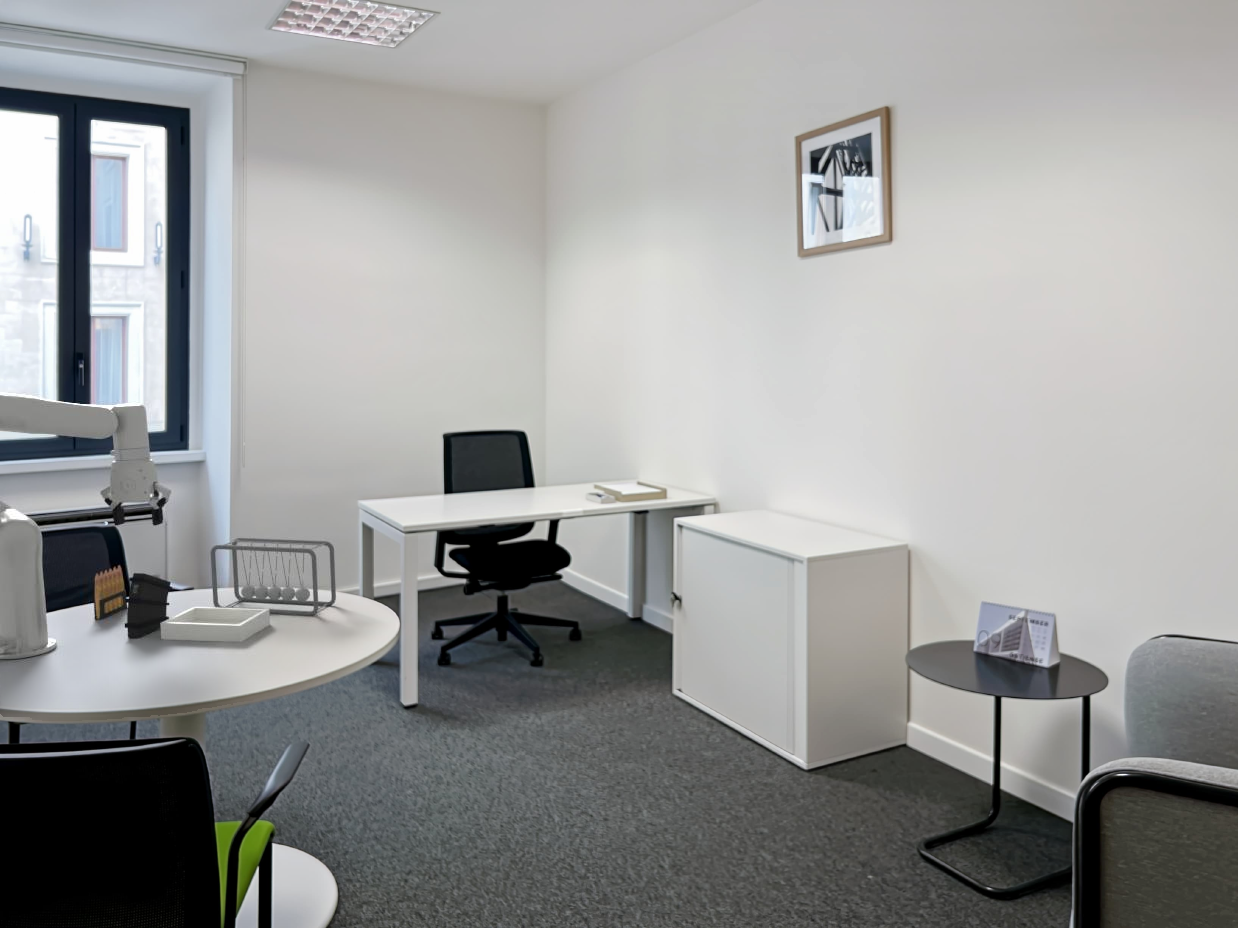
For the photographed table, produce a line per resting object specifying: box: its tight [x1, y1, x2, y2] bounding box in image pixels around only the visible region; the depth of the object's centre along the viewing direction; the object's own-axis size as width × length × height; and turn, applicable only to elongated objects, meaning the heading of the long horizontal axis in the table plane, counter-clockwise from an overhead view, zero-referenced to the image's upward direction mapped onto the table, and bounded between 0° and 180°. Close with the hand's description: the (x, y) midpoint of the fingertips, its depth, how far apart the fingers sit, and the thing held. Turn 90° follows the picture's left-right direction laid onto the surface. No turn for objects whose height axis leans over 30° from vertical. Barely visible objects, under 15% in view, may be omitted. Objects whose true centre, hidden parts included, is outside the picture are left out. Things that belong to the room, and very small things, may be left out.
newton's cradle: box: [210, 537, 337, 617], centre depth 242 cm, size 30×10×18 cm, turn 79°
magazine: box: [124, 572, 173, 639], centre depth 223 cm, size 4×13×15 cm, turn 171°
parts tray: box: [160, 606, 271, 643], centre depth 222 cm, size 14×20×4 cm
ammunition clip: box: [93, 564, 128, 621], centre depth 237 cm, size 11×2×12 cm, turn 174°
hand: (138, 524), depth 222 cm, fingers open, 9 cm apart
